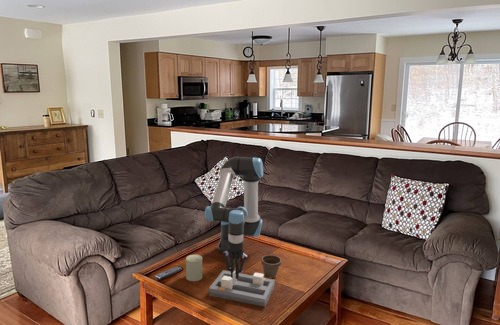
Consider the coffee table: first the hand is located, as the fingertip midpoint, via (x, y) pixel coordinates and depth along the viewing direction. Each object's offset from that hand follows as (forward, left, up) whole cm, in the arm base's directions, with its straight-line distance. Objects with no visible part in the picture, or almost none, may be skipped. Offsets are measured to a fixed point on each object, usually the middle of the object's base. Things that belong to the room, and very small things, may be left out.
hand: (234, 283), depth 193 cm
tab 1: (0, -4, -4) cm, 6 cm away
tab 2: (-9, +10, -4) cm, 14 cm away
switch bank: (-5, +3, -6) cm, 8 cm away
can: (-9, -27, -6) cm, 29 cm away
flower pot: (-26, +13, -6) cm, 29 cm away
